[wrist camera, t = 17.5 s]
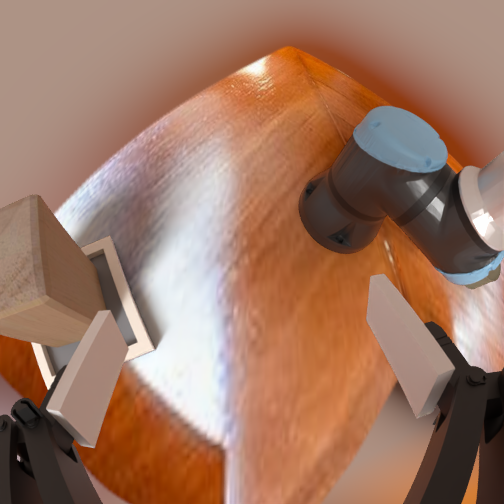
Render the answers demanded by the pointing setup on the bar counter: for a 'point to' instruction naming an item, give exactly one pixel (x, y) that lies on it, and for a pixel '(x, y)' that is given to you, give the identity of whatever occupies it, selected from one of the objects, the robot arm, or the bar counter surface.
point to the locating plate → (115, 300)
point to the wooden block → (44, 278)
